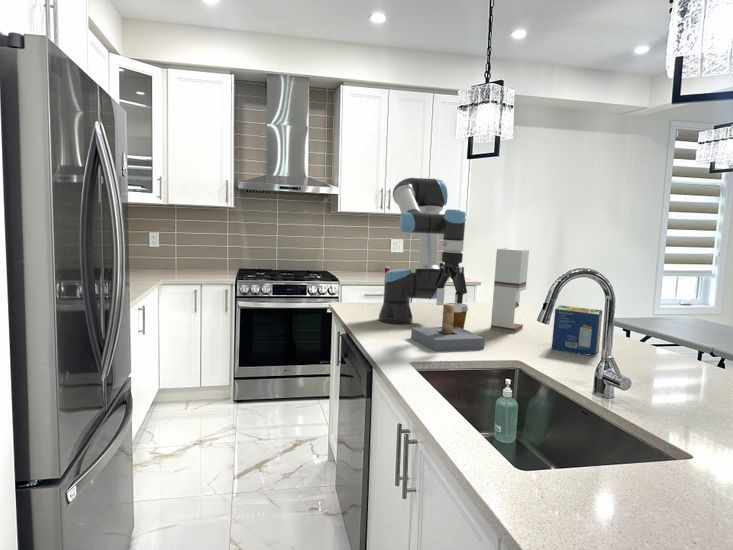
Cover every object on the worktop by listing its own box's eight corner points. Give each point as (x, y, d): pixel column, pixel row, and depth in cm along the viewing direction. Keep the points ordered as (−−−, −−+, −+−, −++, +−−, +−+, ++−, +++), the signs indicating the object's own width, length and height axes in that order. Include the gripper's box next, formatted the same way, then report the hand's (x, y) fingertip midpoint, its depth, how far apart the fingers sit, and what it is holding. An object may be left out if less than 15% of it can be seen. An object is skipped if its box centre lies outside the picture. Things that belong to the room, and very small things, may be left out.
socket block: (411, 337, 200) (411, 327, 199) (456, 336, 206) (457, 326, 206) (434, 351, 181) (435, 340, 180) (484, 348, 188) (484, 338, 187)
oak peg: (439, 340, 195) (441, 304, 193) (448, 340, 196) (451, 304, 195) (444, 343, 191) (446, 306, 190) (453, 343, 192) (456, 306, 191)
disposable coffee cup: (465, 331, 216) (467, 303, 215) (467, 336, 207) (469, 307, 205) (442, 330, 217) (444, 302, 216) (443, 335, 207) (445, 305, 206)
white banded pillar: (515, 333, 217) (522, 250, 214) (490, 329, 223) (496, 248, 219) (522, 329, 227) (529, 249, 223) (498, 325, 233) (504, 248, 229)
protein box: (556, 344, 201) (559, 304, 200) (599, 350, 194) (603, 310, 192) (550, 349, 192) (554, 308, 191) (595, 356, 185) (599, 313, 183)
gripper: (428, 248, 200) (424, 302, 203) (460, 254, 177) (456, 315, 180) (445, 249, 203) (441, 302, 205) (479, 255, 180) (475, 315, 182)
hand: (448, 308), depth 192 cm, fingers open, 13 cm apart
